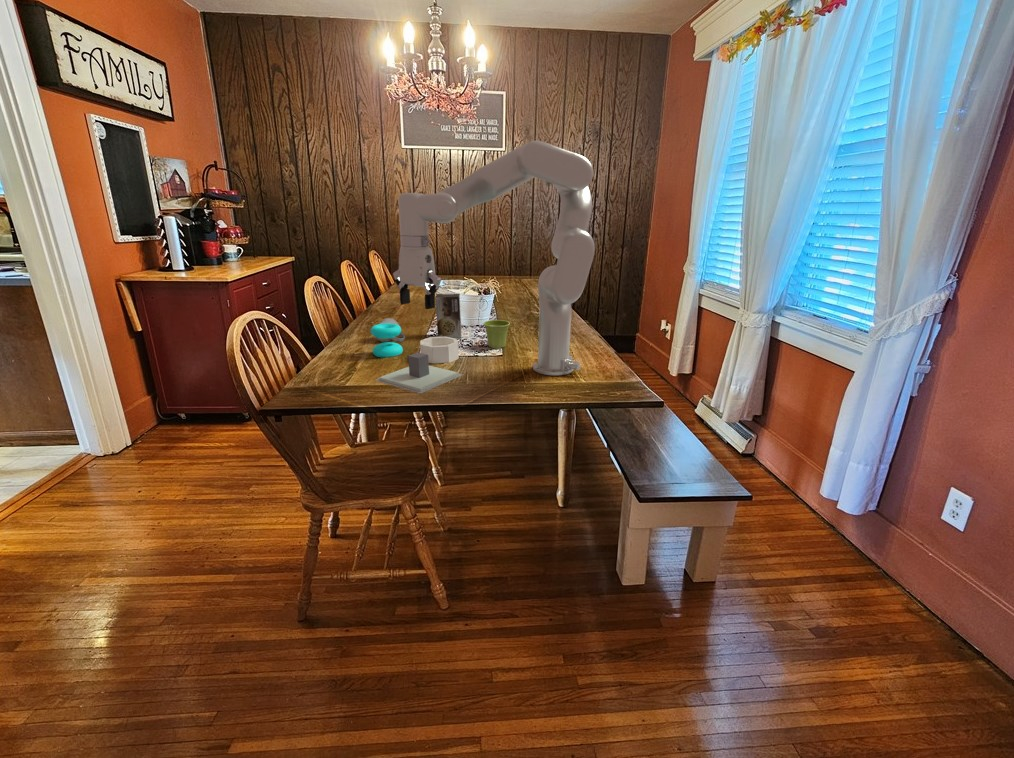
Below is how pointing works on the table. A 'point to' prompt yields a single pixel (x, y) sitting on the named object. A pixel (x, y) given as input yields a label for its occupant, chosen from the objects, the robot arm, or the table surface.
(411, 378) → the lid
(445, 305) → the coffee box
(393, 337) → the ceramic mug
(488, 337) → the plant pot
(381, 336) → the donuts
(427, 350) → the bowl
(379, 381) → the mat
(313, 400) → the table surface
